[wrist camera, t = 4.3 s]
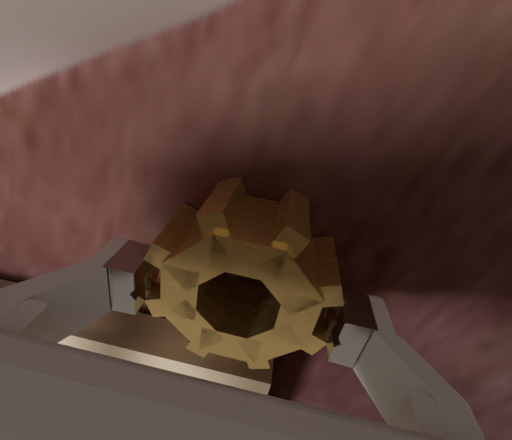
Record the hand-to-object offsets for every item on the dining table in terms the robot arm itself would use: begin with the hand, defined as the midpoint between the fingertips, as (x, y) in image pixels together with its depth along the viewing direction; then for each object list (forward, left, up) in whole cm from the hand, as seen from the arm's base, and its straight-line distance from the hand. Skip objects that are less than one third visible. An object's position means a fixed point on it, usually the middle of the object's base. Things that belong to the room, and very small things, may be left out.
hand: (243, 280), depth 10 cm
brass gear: (0, 0, -2) cm, 2 cm away
